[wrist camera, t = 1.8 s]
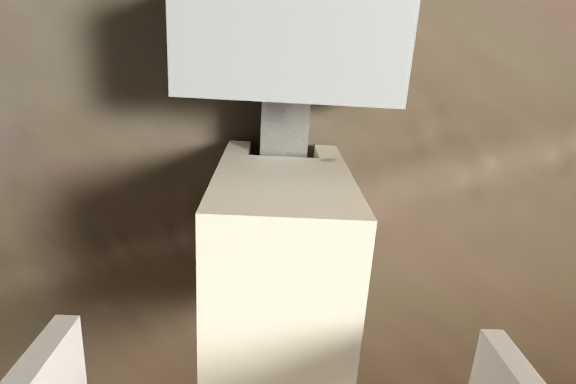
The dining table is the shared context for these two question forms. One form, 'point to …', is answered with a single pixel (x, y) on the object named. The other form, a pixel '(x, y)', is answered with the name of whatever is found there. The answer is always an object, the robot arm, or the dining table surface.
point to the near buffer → (292, 50)
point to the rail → (284, 129)
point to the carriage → (282, 269)
